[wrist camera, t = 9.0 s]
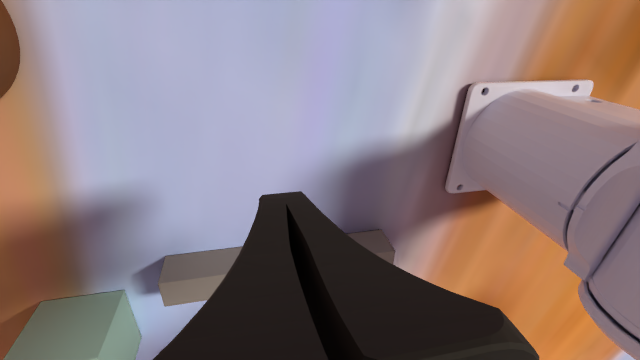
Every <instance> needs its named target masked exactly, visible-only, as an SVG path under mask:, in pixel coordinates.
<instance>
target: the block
mask: <svg viewBox="0 0 640 360" xmlns="http://www.w3.org/2000/svg"><path fill="white" fill-rule="evenodd" d="M140 341H141V334H140V331H139V329H138V326H137V323H136V320H135V318H134V315H133V312H132V310H131V307H130V304H129V301H128V299H127V296H126V293H125V291H124V290H120V291H113V292H106V293H99V294H92V295H85V296H77V297H70V298H63V299H56V300H49V301H42V302H40V304H39V305H38V307H37V309H36V310H35V312H34V313H33V315H32V316H31V318H30V319H29V321H28V322H27V324H26V325H25V327H24V328H23V330H22V332H21V333H20V335H19V336H18V338H17V339H16V341H15V342H14V344H13V345H12V347H11V348H10V350H9V351H8V353H7V355H6V356H5V358H4V359H3V360H135V358H136V355H137V351H138V348H139V344H140Z"/></svg>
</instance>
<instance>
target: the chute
mask: <svg viewBox="0 0 640 360" xmlns="http://www.w3.org/2000/svg"><path fill="white" fill-rule="evenodd" d="M347 235H348V236H349V237H351V238H352V239H353V240H355V241H356V242H357V243H359V244H360V245H362V246H363V247H365V248H366V249H368V250H369V251H371V252H373V253H374V254H376V255H377V256H379V257H380V258H382V259H384V260H386V261H387V262H389V263H391V264H393V260H394V254H395V250H394V248H393V247H392V245H391V244H390V242H389V240H388V239H387V237H386V236H385V234H384V233H383V231H382V230H374V231H365V232H357V233H349V234H347ZM241 249H242V247H236V248H228V249H220V250H211V251H203V252H195V253H187V254H179V255H171V256H165V260H164V264H163V267H162V271H161V274H160V278H159V281H158V286H159V289H160V293H161V296H162V300H163V303H164V306H172V305H178V304H185V303H191V302H198V301H204V300H208V299H209V298H210V297H211V295H212V294H213V293H214V291H215V290H216V289H217V287H218V286H219V285H220V283H221V282H222V280H223V279H224V278H225V276H226V274H227V273H228V271H229V270H230V268H231V267H232V265H233V263H234V262H235V260H236V258H237V257H238V255H239V253H240V251H241Z"/></svg>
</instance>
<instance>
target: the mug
mask: <svg viewBox="0 0 640 360" xmlns="http://www.w3.org/2000/svg"><path fill="white" fill-rule="evenodd" d="M19 64H20V47H19V40H18V36H17V33H16V29H15V26H14V24H13V22H12V19H11V17H10V15H9V13H8V11H7V9H6V8H5V6H4V4H3V2H2V1H1V0H0V98H1V97H2V96H3V95H4V93H5V92H6V91H7V90H8V89H9V88H10V87H11V85H12V83H13V82H14V80H15V78H16V75H17V73H18V69H19Z"/></svg>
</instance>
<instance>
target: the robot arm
mask: <svg viewBox="0 0 640 360" xmlns="http://www.w3.org/2000/svg"><path fill="white" fill-rule="evenodd" d="M573 86H574V87H573ZM484 88H485V91H484V92H483V93H482V94H481V92H482V90H483V89H484ZM572 88H573V89H572ZM592 89H593V82H592V81H590V80H586V79H584V80H548V81H512V82H477V83H473V84H472V85H471V86H470V87H469V89H468V92H467V97H466V101H465V105H464V109H463V113H462V118H461V122H460V126H459V130H458V135H457V139H456V143H455V147H454V151H453V156H452V160H451V164H450V168H449V173H448V177H447V181H446V185H445V189H446V191H447V192H449V193H452V194H453V193H462V192H472V191H481V190H487V191H489V192H490V193H491V194H493V195H494V196H495V197H497V198H498V199H499V200H500V201H502V202H503V203H504V204H506V205H507V206H508V207H510V208H511V209H512V210H514V211H515V212H516V213H518V214H519V215H520V216H522V217H523V218H524V219H526V220H527V221H528V222H530V223H531V224H532V225H534V226H535V227H536V228H537V229H539V230H540V231H541V232H543V233H544V234H545V235H547V236H548V237H549V238H551V239H552V240H553V241H555V242H556V243H557V244H559V245H560V246H561V247H563V248H564V249H565V250H567V251H568V255H567V258H566V260H565V262H564V265H565V266H566V267H567V268H569V269H570V270H571V271H572V272H574V273H575V274H576V275H577V276H579V277H580V278H581V279H582V281H581V282H580V284H579V287H578V294H579V298H580V300H581V302H582V304H583V306H584V308H585V310H586V311H587V312H588V314H589V315H590V317H591V318H592V319H593V321H594V322H595V323H596V325H597V326H598V327H599V328H600V329H601V330H602V332H603V333H604V334H605V335H606V336H607V337H608V338H609V339H611V340H612V341H613V342H614V343H615V344H616V345H617V346H619V347H620V348H621V349H622V350H624V351H625V352H626V353H627V354H629V355H630V356H632V357H633V358H634V359H636V360H640V110H639V109H635V108H631V107H627V106H624V105H620V104H616V103H613V102H609V101H605V100H602V99H598V98H594V97H590V93H591V91H592ZM458 185H460V186H459V187H457V186H458ZM153 360H539V356H538V354H537V353H536V351H535V349H534V348H533V347H532V346H531V345H530V343H529V342H528V341H527V340H526V339H525V337H524V336H523V335H522V334H521V333H520V332H519V330H518V329H517V328H516V327H515V326H514V325H513V323H512V322H511V321H510V320H509V319H508V318H507V317H506V316H505V314H504V313H503V312H502V311H501V310H500V309H498V308H496V307H493V306H490V305H487V304H484V303H481V302H478V301H476V300H473V299H470V298H467V297H464V296H461V295H459V294H456V293H453V292H450V291H448V290H446V289H443V288H441V287H439V286H436V285H434V284H432V283H429V282H427V281H425V280H422V279H420V278H418V277H416V276H414V275H412V274H410V273H408V272H406V271H404V270H402V269H400V268H398V267H396V266H395V265H393V264H391V263H389V262H387V261H386V260H384V259H382V258H380V257H379V256H377V255H376V254H374V253H373V252H371V251H369V250H368V249H366V248H365V247H363V246H362V245H360V244H359V243H357V242H356V241H355V240H353V239H352V238H351V237H349V236H348V235H347V234H346V233H344V232H343V231H342V230H341V229H340V228H338V227H337V226H336V225H335V224H334V223H333V222H332V221H331V220H329V219H328V218H327V217H326V216H325V215H324V214H323V213H322V212H321V211H320V210H319V209H318V208H317V207H316V206H315V205H314V204H313V203H312V202H311V201H310V200H309V199H308V198H307V197H306V196H305V195H304V194H303V193H302V192H301V191H300V192H290V193H279V194H268V195H262V196H261V197H260V198H259V207H258V211H257V214H256V217H255V220H254V223H253V225H252V228H251V230H250V233H249V235H248V237H247V239H246V241H245V243H244V245H243V247H242V249H241V251H240V253H239V255H238V257H237V258H236V260H235V262H234V263H233V265H232V267H231V268H230V270H229V271H228V273H227V274H226V276H225V278H224V279H223V280H222V282H221V283H220V285H219V286H218V287H217V289H216V290H215V291H214V293H213V294H212V295H211V297H210V298H209V299H208V301H207V302H206V303H205V304H204V306H203V307H202V308H201V309H200V310H199V311H198V313H197V314H196V315H195V316H194V317H193V318H192V319H191V320H190V322H189V323H188V324H187V325H186V326H185V327H184V328H183V329H182V331H181V332H180V333H179V334H178V335H177V336H176V337H175V338H174V339H173V340H172V341H171V342H170V343H169V344H168V345H167V346H166V347H165V348H164V349H163V350H162V351H161V352H160V353H159V354H158V355H157V356H156V357H155V358H154V359H153Z"/></svg>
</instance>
